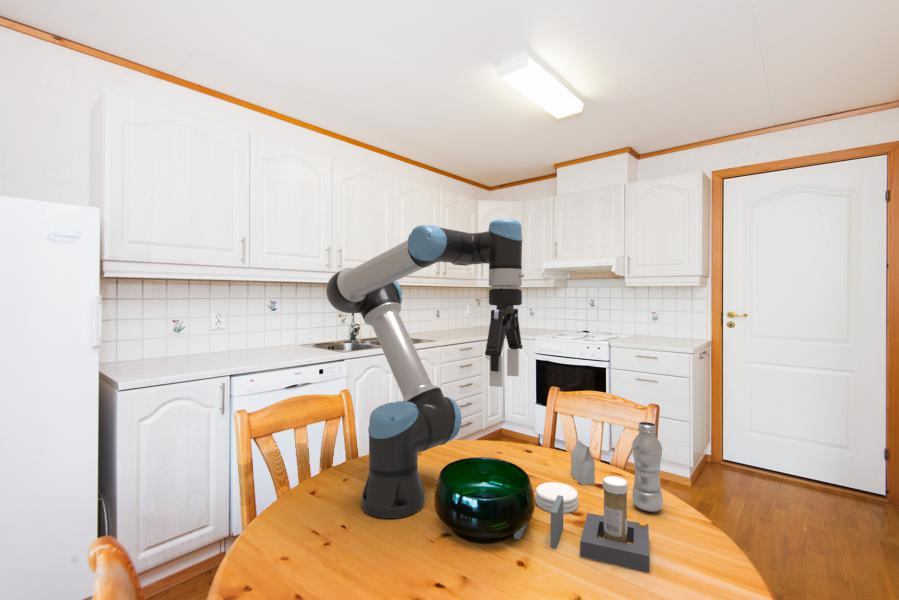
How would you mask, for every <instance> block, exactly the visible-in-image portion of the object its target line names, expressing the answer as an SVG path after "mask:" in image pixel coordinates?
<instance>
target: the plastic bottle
mask: <svg viewBox="0 0 899 600" xmlns="http://www.w3.org/2000/svg"><path fill="white" fill-rule="evenodd" d="M637 431H638V434H637V435H636V436H635V437H634V439H633V440H632V443H631V445H632V446H631V447H632V454H633V460H634V461H633V462H634V480H633V483H634V484H633V487H632V493H631V497H632V502H633V504H634V505H635V507H636V508H638V509H639V510H642V511H644V512H648V513H658V512H660V510H661V509H662V507H663V504H664V498H663V492H662V488H661V463H662V462H661V461H662V454H663V447H662V443H661V441H660V440H659V439H658V437H657V436H656V434H657V426H656V424H655V423H653V422H649V421H640V422H638V427H637Z"/></svg>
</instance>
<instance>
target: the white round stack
mask: <svg viewBox="0 0 899 600" xmlns="http://www.w3.org/2000/svg"><path fill="white" fill-rule="evenodd" d="M558 495H560V496H563V513H564V514H569V513H573V512H575V511H576V510H577V509H578V507H579V493H578V491H577V489H576V488H574V487H572V486H571V485H569V484H566V483H563V482H555V481H554V482H552V481H549V482H543V483H541V484H539V485H538V486H536V487H535V504H536V505H537V507H538V508H540V509H541V508H542V509H541V510H543V509H544V510H543V511H545V510H546V512H548V513H551V510H552V507H553V505H554V503H555V500H556V498H557V496H558Z"/></svg>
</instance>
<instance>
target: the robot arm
mask: <svg viewBox="0 0 899 600" xmlns="http://www.w3.org/2000/svg"><path fill="white" fill-rule="evenodd" d="M522 228H523V227H522V223H521V222H520V221H518V220H515V219H506V218H505V219H495V220H492V221H490V222H489V225H488V231H482V232H466V231H462V230H461V231H459V230H454V229H448V228H443V227H438V226H437V225H430V224H429V225H426V224H421V225H417V226H416V227H414V228H413V229H412V231H411V232H410V233H409V235H408V238H407V240H405V241H403V242H401V243H399V244H398V245H396V246H394V247H391V248H390V249H388V250H386V251H384V252H382V253H380V254H378V255H377V256H374V257H372V258H371V259H369V260H367V261H365V262H363V263H361V264H359V265H357V266H356V267H354V268H353V267H346V268H343V269H342V270H339V271H338V272H336V273H335V274H333V275H332V276H331V277H330V279H329V280H328V282H327V285H326V289H325V292H326V293H325V294H326V297H327V300H328V302H329V303H330V305H331V306H332V307H333V308H334V309H335V310H338V311H339V312H340V313H341V312H342V313H347V314H360V315H361V317H362V319H363V322H364V323H365V324H366V325H368V326H372V328H373V331H374V333H375V335H376V338H377V340H378V342H379V345H380V347H381V350H382V351H383V354H384V357H385V358H386V361H387V363H388V366H389V368H390V371H391V373H392V375H393V377H394V380H395V381H396V385H397V386H398V388H399V391H400V394H401V395H402V397H403V401H401V400H399V401H395V402H393V401H392V402H387V403H384V404H382V405H379V406H377V407H376V408H374V409H373V410H372V411H371V413H370V416H369V423H368V424H369V425H368V430H367V433H368V449H369V450H368V475H367V479H366V481H365V485H364V488H363V491H362V493H361V494H362V495H361V509H362V508H363V509H362V511H363V510H364V511H365V512H366V513H365V512H364V511H363V512H364V513H365V514H367V513H368V514H369V515H368V514H367V515H368V516H371V515H372V516H371V517H373V516H375V517H374V518H377V517H380V518H379V519H384V518H392V519H393V518H394V519H401V518H400V517H402V518H406V517H409V516H408V515H410V514H412V515H414V514H416V513H418V512H419V511H421V510H422V509H423V508H422V507H424V506H425V504H424V503H426V501H425V500H426V494H425V489H424V487H423V486H424V485H423V483H422V480H421V477H420V473H419V470H418V466H419V465H418V464H419V463H418V456H419V455H418V454H420V453H422V452H425V451H427V450H430V449H433V448H435V447H438V446H442V445H446V443H449V442H450V441H452V440H455V438H456V437H457V436H458V435H459V433H460V431H461V425H462V412H461V409H460V407H459V405H458V403H457V402H456V400H455V399H453V398H451V397H448V396H445V395H444V393H443V391H442V390H441V388H440V386H436V385H433V383H432V382H431V379H430V377H429V375H428V372H427V371H426V369H425V366H424V363H423V362H422V360H421V358H420V355H419V353H418V351H417V350H416V348H415V345H414V343H413V341H412V338H411V337H410V335H409V332H408V330H407V328H406V326H405V324H404V322H403V319H402V318H401V316H400V311H402V306H401V304H402V302H403V298H402V296H403V291H402V288H401V286H400V283H399V282H398V281H399V280H401V279H403V278H404V277H407V276H409V275H411V274H414V273H416V272H418V271H420V270H422V269H425V268H427V267H430V266H433V265H434V264H436V263H450V264H452V265H454V266H469V265H470V266H471V265H483V264H488V287H490V289H489V290H488V305H490V306H496V308H495V309H491V311H490V323H489V327H488V334H487V335H488V336H487V340H486V342H487V343H486V347H485V353H484V354H485V356H489V373H488V374H489V379H488V380H489V381H488V382H489V383H488V385H489V387H496V388H497V387H498V388H502V387H503V382H504V381H503V361H504V360H503V356H504V355H503V356H502V351H503V347H504V342H505V338H506V342H507V345H508V348H507V349H506V351H507V352H506V356H507V357H506V359H507V361H506V370H507V371H506V376H507V377H519V375H520V372H519V371H520V365H519V364H520V350H522V349H523V344H522V339H521V338H522V336H521V330H520V323H519V309H518V308H515V307H514V306H521V305H522V303H523V290H522V289H520V288H521V287H522V285H523V284H522V280H523V278H524V277H525V273H522V272H523V270H522V269H523V268H522V267H523V266H522V259H523V258H522V257H523V256H522V252H523V242H524V239H523V232H522ZM423 505H424V506H423ZM421 508H422V509H421ZM420 509H421V510H420ZM418 510H419V511H418ZM417 511H418V512H417ZM415 512H416V513H415ZM413 513H414V514H413ZM405 516H406V517H405ZM410 516H411V515H410ZM392 519H391V520H392Z"/></svg>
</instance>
